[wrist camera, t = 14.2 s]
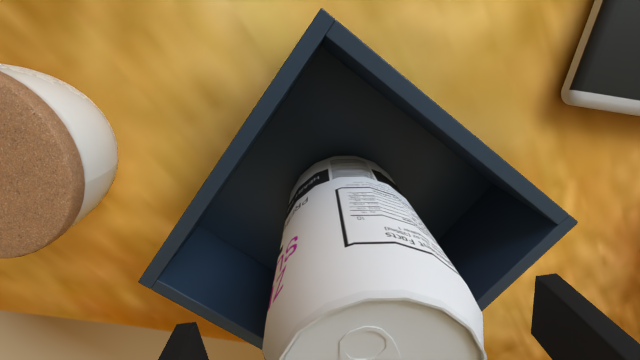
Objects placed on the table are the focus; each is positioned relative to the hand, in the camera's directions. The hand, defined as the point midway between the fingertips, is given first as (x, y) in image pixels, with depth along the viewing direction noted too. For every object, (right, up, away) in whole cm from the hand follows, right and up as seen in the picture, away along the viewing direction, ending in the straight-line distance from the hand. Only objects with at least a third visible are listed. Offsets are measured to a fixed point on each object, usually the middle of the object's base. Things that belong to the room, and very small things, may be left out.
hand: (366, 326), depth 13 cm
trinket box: (-20, +9, +11) cm, 25 cm away
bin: (0, +4, +13) cm, 14 cm away
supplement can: (0, +4, +12) cm, 13 cm away
